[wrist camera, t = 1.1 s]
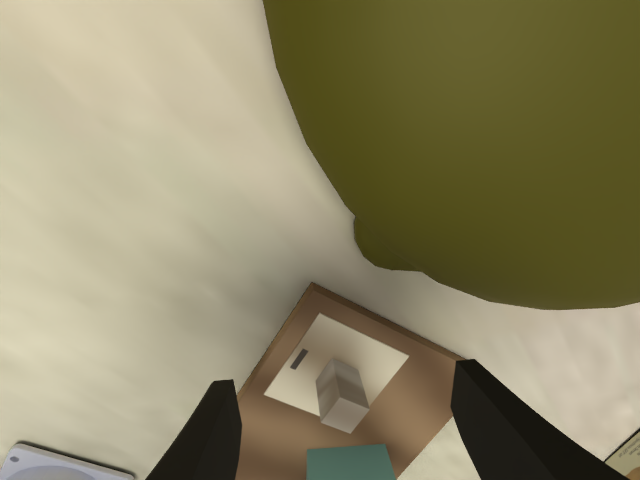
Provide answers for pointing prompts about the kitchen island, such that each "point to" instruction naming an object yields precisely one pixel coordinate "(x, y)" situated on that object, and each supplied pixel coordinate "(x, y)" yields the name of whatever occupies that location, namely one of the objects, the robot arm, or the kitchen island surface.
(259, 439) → the board
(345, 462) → the knob
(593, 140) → the green turtle
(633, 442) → the skincare box
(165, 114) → the kitchen island surface
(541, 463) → the robot arm
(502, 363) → the kitchen island surface
